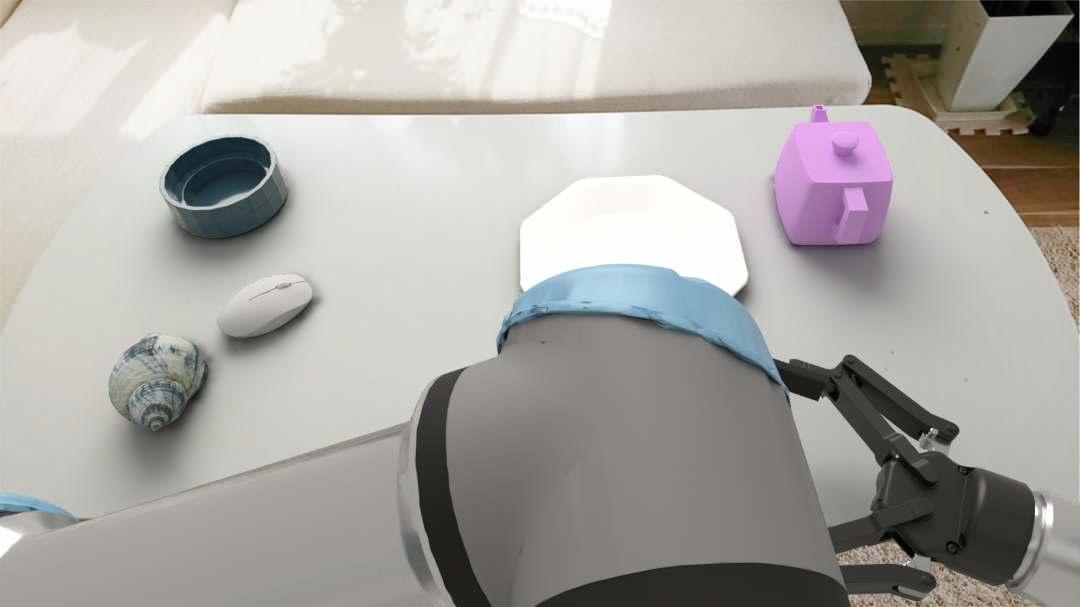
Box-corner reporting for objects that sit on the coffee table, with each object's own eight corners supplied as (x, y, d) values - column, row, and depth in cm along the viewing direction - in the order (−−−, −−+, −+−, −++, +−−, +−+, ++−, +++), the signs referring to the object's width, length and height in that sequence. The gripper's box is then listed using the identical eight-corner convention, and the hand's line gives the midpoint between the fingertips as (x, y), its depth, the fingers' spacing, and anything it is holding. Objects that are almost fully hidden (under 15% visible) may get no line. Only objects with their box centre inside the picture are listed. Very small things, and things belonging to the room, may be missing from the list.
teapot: (760, 157, 90) (777, 85, 82) (849, 155, 90) (874, 82, 82) (788, 268, 79) (810, 197, 71) (890, 267, 79) (924, 194, 71)
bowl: (198, 258, 84) (179, 227, 81) (164, 195, 92) (145, 163, 88) (306, 209, 89) (293, 177, 85) (265, 152, 96) (251, 120, 92)
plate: (521, 352, 74) (520, 343, 73) (521, 190, 89) (520, 180, 88) (761, 342, 73) (764, 333, 72) (720, 180, 88) (722, 170, 87)
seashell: (220, 357, 77) (169, 461, 70) (146, 334, 76) (85, 438, 68) (223, 324, 73) (169, 432, 65) (144, 299, 71) (79, 406, 64)
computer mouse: (323, 302, 79) (315, 284, 77) (239, 355, 76) (228, 338, 73) (295, 272, 82) (286, 254, 80) (213, 322, 78) (201, 304, 76)
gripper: (975, 731, 48) (661, 591, 55) (1008, 421, 62) (754, 338, 68) (1028, 706, 42) (670, 553, 49) (1051, 370, 56) (769, 285, 63)
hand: (718, 428), depth 59 cm, fingers open, 13 cm apart
